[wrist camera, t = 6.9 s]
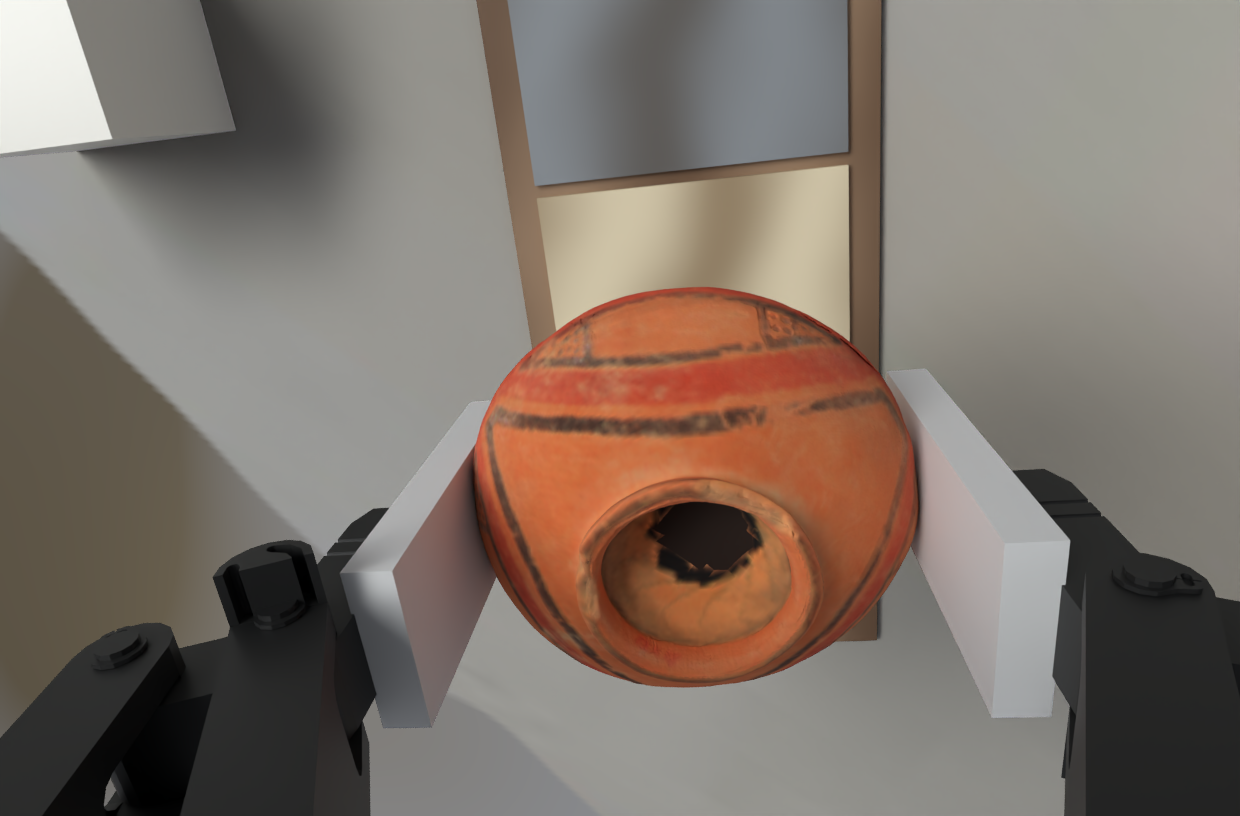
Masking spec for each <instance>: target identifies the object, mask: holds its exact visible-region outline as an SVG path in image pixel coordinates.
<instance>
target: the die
mask: <svg viewBox="0 0 1240 816" xmlns="http://www.w3.org/2000/svg"><path fill="white" fill-rule="evenodd" d="M230 131H236V128H235V125H234V121H233V117H232V114H231V110H230V107H229V103H228V99H227V96H226V92H225V89H224V85H223V81H222V78H221V74H220V70H219V67H218V63H217V60H216V56H215V52H214V49H213V45H212V42H211V38H210V34H209V31H208V27H207V24H206V20H205V16H204V13H203V9H202V6H201V2H200V0H0V158H2V157H14V156H26V155H38V154H50V153H62V152H74V151H83V150H90V149H98V148H106V147H114V146H121V145H129V144H137V143H145V142H152V141H160V140H168V139H175V138H183V137H191V136H199V135H206V134H214V133H222V132H230Z"/></svg>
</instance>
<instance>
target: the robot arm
mask: <svg viewBox="0 0 1240 816" xmlns="http://www.w3.org/2000/svg"><path fill="white" fill-rule="evenodd" d="M887 386H888V387H889V388H890V390H891V392H892V393H893V396H894V397H895V399H896V402H897V404H898V406H899V408H900V411H901V414H902V417H903V420H904V423H905V425H906V428H907V430H908V432H909V435H910V438H911V442H912V446H913V453H914V462H915V471H916V478H917V485H918V496H919V513H918V520H917V526H916V530H915V534H914V537H913V541H912V543H911V547H912V549H913V552H914V554H915V556H916V558H917V560H918V562H919V564H920V566H921V569H922V571H923V573H924V575H925V577H926V579H927V581H928V583H929V585H930V588H931V590H932V592H933V594H934V596H935V598H936V600H937V602H938V605H939V607H940V609H941V611H942V613H943V615H944V617H945V619H946V622H947V624H948V626H949V628H950V630H951V632H952V634H953V636H954V639H955V641H956V643H957V645H958V647H959V649H960V651H961V653H962V656H963V658H964V660H965V662H966V664H967V666H968V668H969V670H970V673H971V675H972V677H973V679H974V681H975V683H976V685H977V687H978V690H979V692H980V694H981V696H982V698H983V700H984V702H985V704H986V707H987V709H988V711H989V713H990V715H991V717H992V718H1020V717H1051V715H1052V706H1053V697H1054V687H1055V682H1056V684H1057V685H1058V687H1059V688H1060V690H1061V692H1062V693H1063V695H1064V697H1065V698H1066V700H1067V702H1068V703H1069V705H1070V709H1069V717H1068V726H1067V734H1066V743H1065V751H1064V760H1063V768H1062V776H1061V778H1065V809H1064V816H1240V602H1239V601H1233V600H1228V599H1223V598H1217V597H1216V596H1215V592H1214V590H1213V588H1212V587H1211V585H1210V584H1209V582H1208V581H1207V579H1206V578H1204V577H1203V576H1201V575H1200V574H1198V573H1197V572H1196V571H1194V570H1193V569H1191V568H1190V567H1187V566H1185V565H1182V564H1180V563H1177V562H1175V561H1173V560H1170V559H1167V558H1163V557H1158V556H1154V555H1149V554H1145V553H1139V552H1138V551H1137V550H1136V549H1135V548H1134V547H1133V545H1132V544H1131V543H1130V542H1129V541H1128V540H1127V539H1126V538H1125V537H1124V536H1123V535H1122V534H1121V533H1120V532H1119V531H1118V530H1117V529H1116V528H1115V527H1114V526H1113V525H1112V524H1111V523H1110V522H1109V521H1108V520H1107V519H1106V518H1105V517H1104V516H1101V513H1100V511H1099V510H1098V509H1097V508H1096V507H1095V506H1094V505H1093V504H1092V503H1091V502H1090V503H1088V499H1087V498H1086V497H1085V496H1084V495H1083V494H1082V493H1081V492H1080V491H1079V490H1078V489H1077V488H1076V487H1075V486H1074V485H1073V484H1072V483H1071V482H1069V481H1067V480H1065V479H1063V478H1061V477H1059V476H1057V475H1055V474H1053V473H1051V472H1049V471H1047V470H1045V469H1036V470H1018V471H1012V470H1011V469H1010V468H1009V467H1008V466H1007V464H1006V463H1005V462H1004V461H1003V460H1002V459H1001V457H1000V456H999V455H998V454H997V453H996V451H995V450H994V449H993V448H992V447H991V445H990V444H989V443H988V442H987V441H986V439H985V438H984V437H983V436H982V435H981V434H980V432H979V431H978V430H977V429H976V428H975V426H974V425H973V424H972V423H971V422H970V420H969V419H968V418H967V417H966V416H965V414H964V413H963V412H962V411H961V410H960V409H959V407H958V406H957V405H956V404H955V403H954V401H953V400H952V399H951V398H950V397H949V395H948V394H947V393H946V392H945V391H944V389H943V388H942V387H941V386H940V385H939V383H938V382H937V381H936V380H935V379H934V378H933V376H932V375H931V374H930V373H929V372H928V370H927V369H926V368H925V369H911V370H898V371H887ZM491 401H492V400H489V401H476V402H470V403H469V405H468V406H467V407H466V408H465V410H464V411H463V412H462V414H461V415H460V416H459V418H458V419H457V420H456V422H455V423H454V424H453V425H452V427H451V428H450V429H449V431H448V432H447V433H446V435H445V436H444V437H443V439H442V440H441V441H440V442H439V444H438V445H437V446H436V448H435V449H434V450H433V452H432V453H431V454H430V456H429V457H428V458H427V459H426V461H425V462H424V463H423V465H422V466H421V467H420V469H419V470H418V471H417V473H416V474H415V475H414V476H413V478H412V479H411V480H410V482H409V483H408V484H407V486H406V487H405V488H404V490H403V491H402V492H401V494H400V495H399V496H398V497H397V499H396V500H395V501H394V503H393V504H392V505H391V507H390V508H377V509H372V510H371V511H369V512H368V513H366V514H365V515H363V516H362V517H360V518H359V519H357V520H356V521H354V522H353V523H351V524H350V526H349V527H348V528H347V529H346V530H345V532H344V533H343V534H342V535H341V536H340V538H339V539H338V543H335V544H334V545H333V546H332V547H331V549H330V550H329V551H328V552H327V556H324V557H323V558H322V559H321V561H320V562H319V563H318V564H316V560H315V557H314V553H313V550H312V548H311V545H309V544H307V543H305V542H302V541H293V540H284V541H277V542H271V543H267V544H264V545H260V546H257V547H254V548H251V549H249V550H247V551H245V552H243V553H241V554H239V555H237V556H235V557H233V558H231V559H230V560H229V561H227V562H226V563H225V564H223V565H222V566H221V567H219V569H218V570H217V572H216V573H215V575H214V576H213V580H214V583H215V585H216V588H217V591H218V594H219V597H220V600H221V602H222V605H223V608H224V611H225V614H226V617H227V620H228V623H229V625H230V630H229V634H228V637H225V638H222V639H217V640H213V641H209V642H204V643H200V644H196V645H192V646H187V647H183V648H178V645H177V643H176V640H175V637H174V635H173V632H172V630H171V627H169V626H167V625H164V624H161V623H143V624H139V625H135V626H126V627H123V628H120V629H117V631H116V632H115V631H112V632H110V633H108V634H106V635H104V636H102V637H101V638H100V639H99V640H97V641H95V642H94V643H92V644H90V645H89V646H87V647H85V648H84V649H83V650H82V651H81V652H80V653H78V654H77V655H76V656H75V657H74V658H73V659H71V661H70V662H69V663H68V664H67V665H66V666H65V668H63V669H62V671H61V672H60V673H59V674H58V675H57V676H56V677H55V678H54V679H53V681H52V682H51V683H50V684H49V685H48V686H47V687H46V688H45V689H44V690H43V692H42V693H41V694H40V695H39V696H38V697H37V698H36V699H35V700H34V701H33V703H32V704H31V705H30V706H29V707H28V708H27V709H26V710H25V711H24V712H23V714H22V715H21V716H20V717H19V718H18V719H17V720H16V721H15V722H14V723H13V725H12V726H11V727H10V728H9V729H8V730H7V731H6V732H5V733H4V734H3V736H2V737H1V738H0V816H370V770H369V769H370V767H369V765H370V763H369V741H368V738H367V734H366V731H365V727H364V724H363V718H364V716H365V715H366V713H367V711H368V709H369V707H370V706H371V704H372V702H373V700H374V698H375V700H376V704H377V707H378V711H379V714H380V718H381V722H382V725H383V728H423V727H424V728H425V727H426V728H427V727H432V726H433V723H434V721H435V719H436V716H437V714H438V711H439V709H440V707H441V705H442V702H443V700H444V698H445V695H446V693H447V691H448V688H449V686H450V684H451V681H452V679H453V677H454V674H455V672H456V670H457V667H458V665H459V663H460V660H461V658H462V656H463V653H464V651H465V649H466V646H467V644H468V642H469V639H470V637H471V635H472V632H473V630H474V628H475V625H476V623H477V621H478V618H479V616H480V614H481V611H482V609H483V607H484V604H485V602H486V600H487V597H488V595H489V593H490V590H491V588H492V586H493V583H494V581H495V579H496V574H495V572H494V569H493V567H492V565H491V563H490V561H489V558H488V555H487V553H486V551H485V548H484V544H483V541H482V538H481V534H480V530H479V526H478V521H477V513H476V505H475V494H474V486H473V461H474V452H475V445H476V441H477V437H478V434H479V430H480V426H481V423H482V421H483V418H484V416H485V413H486V411H487V409H488V407H489V405H490V403H491ZM110 778H111V780H112V782H113V784H114V787H115V789H116V792H115V793H114V795H113V797H112V798H111V800H110V801H109V802H108V804H107V805H106V806H105V807H104V799H105V791H106V786H107V784H108V782H109V780H110Z"/></svg>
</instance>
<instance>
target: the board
mask: <svg viewBox="0 0 1240 816" xmlns="http://www.w3.org/2000/svg"><path fill="white" fill-rule="evenodd" d="M476 1H477V7H478V13H479V19H480V25H481V32H482V38H483V44H484V50H485V57H486V63H487V69H488V75H489V82H490V88H491V94H492V100H493V107H494V113H495V119H496V125H497V132H498V138H499V144H500V150H501V156H502V163H503V169H504V175H505V181H506V188H507V194H508V200H509V206H510V213H511V219H512V225H513V231H514V238H515V244H516V250H517V256H518V263H519V269H520V275H521V281H522V288H523V294H524V300H525V306H526V312H527V319H528V325H529V331H530V337H531V344H532V349H533V348H535V347H536V346H537V345H538V344H539V343H541V342H542V341H544V340H545V339H547V338H548V337H549V336H551V335H552V334H554V333H555V332H556V331H557V330H559V329H560V328H561V327H563V326H564V325H566V324H567V323H568V322H570V321H571V320H573V319H575V318H576V317H578V316H579V315H581V314H583V313H584V312H586V311H588V310H590V309H592V308H594V307H597V306H599V305H601V304H604V303H606V302H609V301H612V300H615V299H618V298H621V297H624V296H628V295H632V294H637V293H641V292H646V291H654V290H663V289H672V288H687V287H716V288H724V289H730V290H736V291H741V292H746V293H751V294H755V295H758V296H762V297H765V298H769V299H772V300H775V301H777V302H780V303H783V304H785V305H787V306H789V307H791V308H794V309H796V310H799V311H801V312H803V313H805V314H808V315H809V316H811V317H813V318H815V319H816V320H818V321H820V322H821V323H823V324H825V325H826V326H828V327H830V328H832V329H833V330H834V331H836V332H837V333H839V334H840V335H842V336H843V337H844V338H846V339H847V340H848V341H849V342H851V343H852V344H853V345H854V346H855V347H856V348H857V349H858V350H859V351H860V352H862V353H863V354H864V355H865V356H866V357H867V359H868V360H869V361H870V362H871V364H872V365H873V366H874V367H875V369H876V370H877V371H878V372H879V261H880V117H881V0H476ZM867 640H877V603H876V604H875V605H874V606H873V607H872V609H871V610H870V611H869V612H868V613H867V615H866V616H865V617H864V618H863V619H862V620H861V621H860V622H858V623H857V624H856V625H855V626H854V627H853V628H852V629H851V630H849V631H848V632H847V633H846V634H844V635H843V636H842V637H840V638H839V639H838V640H837V641H867Z"/></svg>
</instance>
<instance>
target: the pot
mask: <svg viewBox="0 0 1240 816" xmlns="http://www.w3.org/2000/svg"><path fill="white" fill-rule="evenodd" d="M473 486H474V494H475V505H476V513H477V521H478V526H479V530H480V534H481V538H482V541H483V544H484V548H485V551H486V553H487V555H488V558H489V561H490V563H491V565H492V567H493V569H494V572H495V574H496V576H497V578H498V580H499V582H500V583H501V585H502V587H503V589H504V590H505V592H506V593H507V595H508V596H509V598H510V599H511V600H512V602H513V603H514V605H515V606H516V607H517V608H518V610H519V611H520V612H521V614H522V615H523V616H524V617H525V618H526V620H527V621H528V622H529V623H530V624H531V625H532V626H533V627H534V628H535V629H536V630H537V631H538V632H539V633H540V634H541V635H542V636H544V637H545V638H546V639H547V640H548V641H549V642H551V643H552V644H553V645H555V646H556V647H558V648H559V649H560V650H562V651H563V652H565V653H566V654H568V655H569V656H571V657H572V658H574V659H575V660H577V661H578V662H580V663H581V664H584V665H586V666H588V667H590V668H592V669H595V670H597V671H600V672H602V673H605V674H608V675H611V676H613V677H617V678H620V679H624V680H627V681H631V682H633V683H637V684H644V685H650V686H660V687H703V686H704V687H706V686H714V685H722V684H730V683H739V682H743V681H749V680H754V679H757V678H760V677H764V676H767V675H771V674H774V673H777V672H780V671H782V670H785V669H787V668H789V667H791V666H793V665H795V664H797V663H799V662H801V661H803V660H805V659H807V658H809V657H811V656H813V655H814V654H816V653H818V652H820V651H821V650H823V649H825V648H826V647H828V646H830V645H831V644H832V643H834V642H835V641H837V640H838V639H839V638H840V637H842V636H843V635H844V634H846V633H847V632H848V631H849V630H851V629H852V628H853V627H854V626H855V625H856V624H857V623H858V622H860V621H861V620H862V619H863V618H864V617H865V616H866V615H867V613H868V612H869V611H870V610H871V609H872V607H873V606H874V605H875V604H876V603H877V601H878V600H879V599H880V597H881V596H882V595H883V593H884V592H885V591H886V589H887V588H888V586H889V585H890V583H891V581H892V580H893V578H894V576H895V575H896V573H897V571H898V570H899V568H900V566H901V564H902V562H903V560H904V559H905V557H906V555H907V553H908V551H909V548H910V546H911V543H912V541H913V537H914V534H915V530H916V526H917V520H918V513H919V496H918V485H917V478H916V471H915V462H914V453H913V446H912V442H911V438H910V435H909V432H908V430H907V428H906V425H905V423H904V420H903V417H902V414H901V411H900V408H899V406H898V404H897V402H896V399H895V397H894V396H893V393H892V392H891V390H890V388H889V387H888V386H887V384H886V382H885V381H884V379H883V378H882V376H881V375H880V373H879V372H878V371H877V370H876V369H875V367H874V366H873V365H872V364H871V362H870V361H869V360H868V359H867V357H866V356H865V355H864V354H863V353H862V352H860V351H859V350H858V349H857V348H856V347H855V346H854V345H853V344H852V343H851V342H849V341H848V340H847V339H846V338H844V337H843V336H842V335H840V334H839V333H837V332H836V331H834V330H833V329H832V328H830V327H828V326H826V325H825V324H823V323H821V322H820V321H818V320H816V319H815V318H813V317H811V316H809V315H808V314H805V313H803V312H801V311H799V310H796V309H794V308H791V307H789V306H787V305H785V304H783V303H780V302H777V301H775V300H772V299H769V298H765V297H762V296H758V295H755V294H751V293H746V292H741V291H736V290H730V289H724V288H716V287H687V288H672V289H663V290H654V291H646V292H641V293H637V294H632V295H628V296H624V297H621V298H618V299H615V300H612V301H609V302H606V303H604V304H601V305H599V306H597V307H594V308H592V309H590V310H588V311H586V312H584V313H583V314H581V315H579V316H578V317H576V318H575V319H573V320H571V321H570V322H568V323H567V324H566V325H564V326H563V327H561V328H560V329H559V330H557V331H556V332H555V333H554V334H552V335H551V336H549V337H548V338H547V339H545V340H544V341H542V342H541V343H539V344H538V345H537V346H536V347H535V348H533V349H532V350H531V351H530V352H529V353H528V354H526V355H525V356H524V357H523V358H522V359H521V361H520V362H519V363H518V364H517V365H516V366H515V367H514V368H513V369H512V371H511V372H510V373H509V374H508V375H507V377H506V378H505V379H504V381H503V382H502V383H501V385H500V387H499V388H498V390H497V391H496V393H495V395H494V397H493V399H492V401H491V403H490V405H489V407H488V409H487V411H486V413H485V416H484V418H483V421H482V423H481V426H480V430H479V434H478V437H477V441H476V445H475V452H474V461H473Z"/></svg>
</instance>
